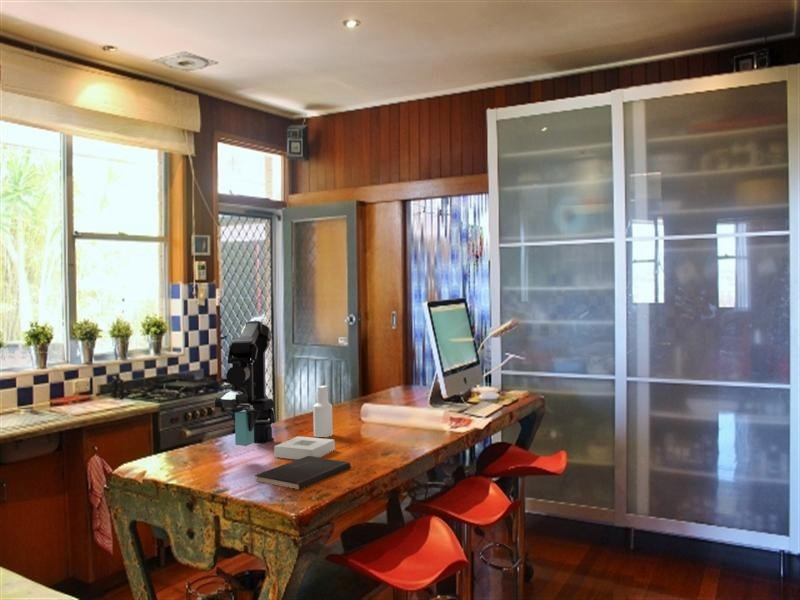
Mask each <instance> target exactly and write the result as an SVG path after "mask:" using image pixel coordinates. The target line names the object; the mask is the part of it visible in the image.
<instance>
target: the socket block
mask: <svg viewBox="0 0 800 600" xmlns="http://www.w3.org/2000/svg"><path fill="white" fill-rule="evenodd" d="M335 445H336V444H335V439H333V438H332V439H330V438H319V437H307V436H295V437H293V438H291V439H288V440H286V441H283V442H281V443H279V444H275V445H274V446H273V448H274V449H273V450H274V451H273V452H274V453H273V454H274V456H273V457H274V458H278V457H279V459H287V460H289V459H290V460H297V459H301V458H304V457H307V456H313V457H319V458H323V457H324V456H326V455H328V454H330V453H332V452H334V451H336V448H335ZM333 450H334V451H333ZM331 451H332V452H331ZM329 452H330V453H329ZM327 453H328V454H327ZM325 454H326V455H325Z"/></svg>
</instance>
